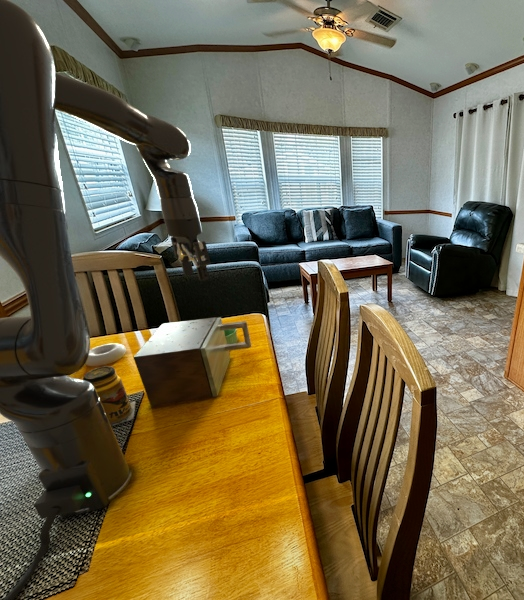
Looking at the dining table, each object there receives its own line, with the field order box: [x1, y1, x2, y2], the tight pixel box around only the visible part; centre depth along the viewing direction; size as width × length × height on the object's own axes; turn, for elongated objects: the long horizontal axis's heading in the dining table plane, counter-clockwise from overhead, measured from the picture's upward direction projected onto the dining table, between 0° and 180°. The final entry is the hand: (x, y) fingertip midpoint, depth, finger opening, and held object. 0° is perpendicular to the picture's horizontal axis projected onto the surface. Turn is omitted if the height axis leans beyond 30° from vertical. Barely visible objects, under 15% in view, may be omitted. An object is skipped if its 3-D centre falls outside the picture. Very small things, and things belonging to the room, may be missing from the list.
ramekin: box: [224, 328, 238, 344], centre depth 105 cm, size 9×9×4 cm
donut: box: [84, 342, 127, 367], centre depth 97 cm, size 10×4×10 cm
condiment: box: [82, 365, 137, 427], centre depth 72 cm, size 7×8×12 cm
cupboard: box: [133, 317, 217, 409], centre depth 85 cm, size 13×18×14 cm
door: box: [201, 317, 252, 398], centre depth 87 cm, size 8×18×14 cm, turn 17°
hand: (196, 277), depth 88 cm, fingers open, 8 cm apart
